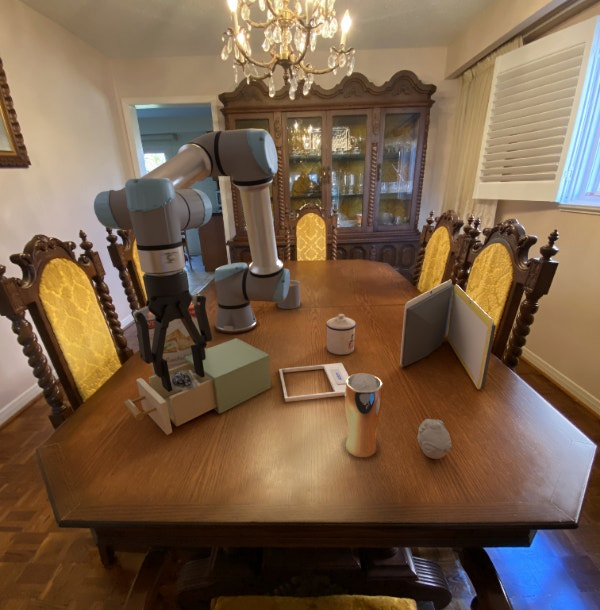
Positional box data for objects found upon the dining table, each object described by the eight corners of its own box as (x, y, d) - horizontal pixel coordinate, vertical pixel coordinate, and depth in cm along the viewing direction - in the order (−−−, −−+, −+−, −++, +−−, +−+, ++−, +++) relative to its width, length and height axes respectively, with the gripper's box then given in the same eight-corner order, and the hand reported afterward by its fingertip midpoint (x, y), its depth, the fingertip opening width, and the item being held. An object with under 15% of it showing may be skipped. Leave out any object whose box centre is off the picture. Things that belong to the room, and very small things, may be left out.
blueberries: (187, 369, 76) (186, 361, 75) (210, 380, 71) (209, 372, 70) (159, 382, 71) (157, 374, 70) (182, 396, 66) (180, 387, 65)
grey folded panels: (495, 391, 86) (510, 318, 79) (405, 388, 88) (412, 317, 81) (452, 334, 118) (461, 278, 111) (387, 333, 120) (392, 278, 113)
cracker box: (156, 390, 90) (141, 315, 82) (154, 380, 95) (139, 308, 87) (210, 376, 96) (200, 305, 88) (205, 367, 101) (195, 299, 93)
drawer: (146, 445, 70) (138, 413, 67) (123, 416, 79) (115, 387, 76) (226, 405, 82) (222, 376, 79) (198, 384, 91) (194, 357, 88)
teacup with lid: (354, 356, 105) (356, 320, 101) (324, 354, 106) (325, 319, 102) (355, 339, 116) (356, 307, 112) (328, 338, 118) (328, 306, 113)
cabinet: (219, 414, 80) (214, 378, 77) (189, 389, 90) (184, 357, 87) (271, 387, 90) (269, 354, 87) (239, 368, 100) (236, 338, 97)
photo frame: (357, 390, 86) (285, 397, 83) (356, 393, 86) (285, 401, 84) (341, 362, 99) (279, 368, 97) (341, 365, 100) (279, 371, 97)
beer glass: (340, 436, 72) (341, 373, 67) (372, 433, 73) (377, 371, 67) (347, 460, 66) (349, 393, 60) (383, 457, 66) (388, 391, 61)
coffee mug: (299, 300, 156) (298, 279, 152) (301, 308, 147) (300, 285, 143) (269, 302, 155) (268, 280, 151) (269, 310, 145) (268, 287, 142)
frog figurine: (440, 440, 70) (444, 412, 68) (455, 467, 64) (461, 436, 61) (410, 442, 70) (413, 413, 68) (423, 468, 64) (427, 438, 61)
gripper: (114, 286, 53) (144, 410, 62) (222, 264, 66) (234, 370, 74) (99, 278, 58) (128, 394, 67) (202, 259, 71) (215, 358, 79)
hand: (184, 381), depth 71 cm, fingers closed on blueberries, 6 cm apart
